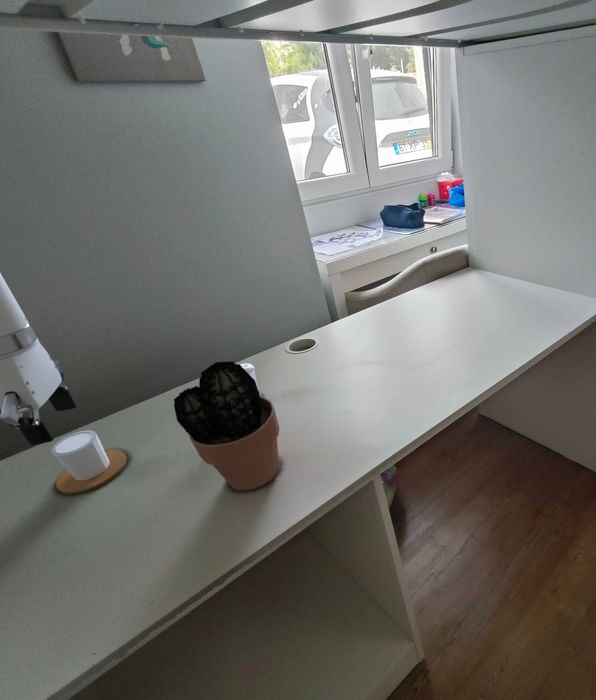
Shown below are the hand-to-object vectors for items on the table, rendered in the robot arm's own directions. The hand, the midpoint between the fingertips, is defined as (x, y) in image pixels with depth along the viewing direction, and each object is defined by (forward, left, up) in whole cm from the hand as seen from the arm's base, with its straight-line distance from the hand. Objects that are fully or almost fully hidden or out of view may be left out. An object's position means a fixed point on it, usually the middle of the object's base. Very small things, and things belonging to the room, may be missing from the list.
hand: (55, 424), depth 79 cm
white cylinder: (+1, 0, -12) cm, 12 cm away
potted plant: (+31, -12, -12) cm, 35 cm away
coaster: (+1, 0, -12) cm, 12 cm away
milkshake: (+29, +13, -12) cm, 34 cm away
